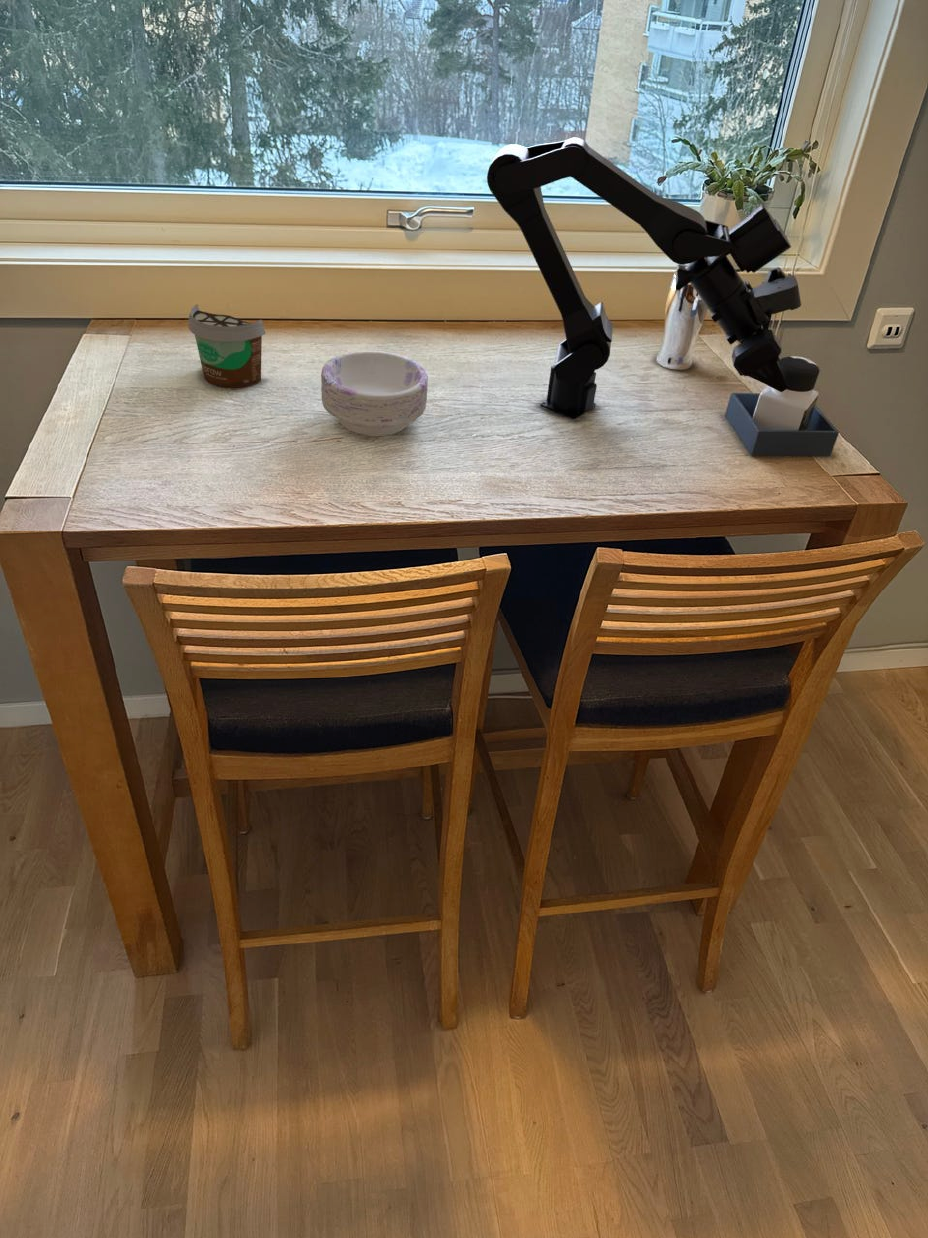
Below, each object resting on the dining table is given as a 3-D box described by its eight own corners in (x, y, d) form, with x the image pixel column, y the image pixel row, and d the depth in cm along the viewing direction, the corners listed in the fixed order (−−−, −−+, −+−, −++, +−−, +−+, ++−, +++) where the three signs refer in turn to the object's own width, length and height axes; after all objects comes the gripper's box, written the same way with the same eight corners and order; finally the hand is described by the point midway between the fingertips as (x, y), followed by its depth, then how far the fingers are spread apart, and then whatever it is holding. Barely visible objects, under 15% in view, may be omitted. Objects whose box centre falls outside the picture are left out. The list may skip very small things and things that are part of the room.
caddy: (751, 455, 133) (758, 431, 131) (724, 415, 142) (731, 392, 140) (830, 456, 135) (839, 432, 132) (798, 416, 144) (806, 393, 141)
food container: (178, 380, 139) (169, 316, 132) (202, 365, 143) (194, 303, 137) (247, 398, 136) (241, 334, 129) (269, 382, 140) (264, 320, 134)
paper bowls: (446, 430, 132) (449, 380, 127) (358, 457, 125) (357, 404, 120) (389, 389, 141) (389, 341, 136) (303, 412, 134) (300, 361, 129)
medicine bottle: (791, 451, 135) (817, 377, 127) (746, 437, 137) (768, 362, 130) (805, 434, 140) (830, 360, 132) (760, 419, 142) (783, 347, 135)
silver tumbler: (693, 373, 154) (715, 285, 144) (653, 367, 155) (671, 279, 145) (694, 357, 159) (715, 271, 150) (654, 351, 160) (673, 265, 150)
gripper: (784, 279, 115) (843, 371, 121) (769, 235, 129) (823, 319, 136) (708, 331, 121) (768, 416, 127) (701, 283, 135) (756, 362, 141)
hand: (780, 376), depth 133 cm, fingers open, 9 cm apart
